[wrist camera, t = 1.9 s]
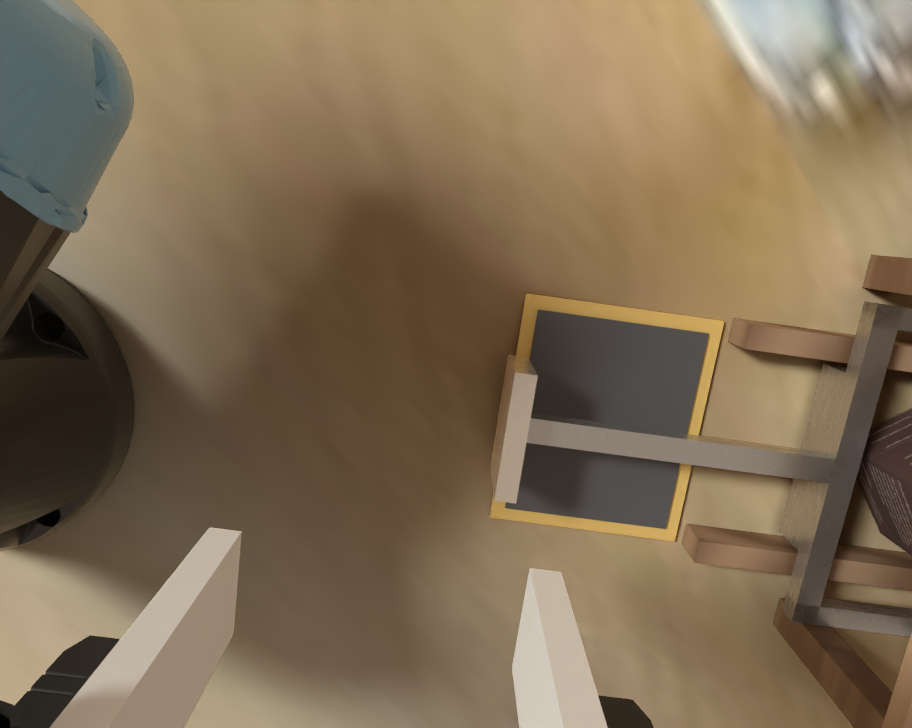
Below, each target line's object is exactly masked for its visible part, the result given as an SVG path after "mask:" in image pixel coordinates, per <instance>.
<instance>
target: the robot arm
mask: <svg viewBox="0 0 912 728" xmlns="http://www.w3.org/2000/svg"><path fill="white" fill-rule="evenodd" d="M133 103H134V97H133V86H132V81H131V77H130V74H129V71H128V68H127V66H126V64H125V62H124V60H123V58H122V56H121V55H120V53H119V51H118V49H117V48H116V46H115V45H114V44H113V42H112V41H111V40H110V39H109V37H108V36H107V35H106V34H105V33H104V31H103V30H102V29H101V28H100V27H99V26H98V25H97V24H96V23H95V22H94V21H93V20H92V19H91V18H90V17H89V16H88V15H87V14H86V13H85V12H84V11H83V10H82V9H81V8H80V7H79V6H78V5H77V4H76V3H74V2H73V1H72V0H0V551H2V550H6V549H10V548H14V547H17V546H21V545H24V544H27V543H30V542H32V541H35V540H37V539H39V538H41V537H43V536H45V535H47V534H49V533H51V532H53V531H55V530H57V529H58V528H60V527H61V526H63V525H64V524H66V523H67V522H68V521H69V520H71V519H72V518H73V517H75V516H76V515H77V514H79V513H80V512H81V511H82V510H84V509H85V508H86V507H88V506H89V505H90V504H91V503H93V502H94V501H95V500H96V499H97V498H98V497H99V496H100V495H101V494H102V493H103V492H104V491H105V489H106V488H107V487H108V486H109V484H110V483H111V482H112V480H113V479H114V477H115V476H116V474H117V472H118V470H119V469H120V467H121V465H122V463H123V460H124V458H125V456H126V453H127V450H128V447H129V443H130V439H131V434H132V428H133V417H134V404H133V393H132V387H131V381H130V377H129V373H128V370H127V366H126V363H125V360H124V358H123V355H122V353H121V351H120V348H119V346H118V344H117V342H116V340H115V338H114V337H113V335H112V333H111V331H110V330H109V328H108V327H107V325H106V324H105V322H104V321H103V320H102V318H101V317H100V316H99V314H98V313H97V312H96V311H95V309H94V308H93V307H92V306H91V305H90V304H89V303H88V302H87V301H86V300H85V299H84V298H83V297H82V296H81V295H80V294H79V293H78V292H77V291H76V290H75V289H74V288H72V287H71V286H70V285H69V284H67V283H66V282H65V281H63V280H62V279H61V278H59V277H58V276H56V275H55V274H53V273H52V272H50V271H48V270H47V268H48V266H49V265H50V263H51V262H52V260H53V259H54V257H55V256H56V254H57V253H58V251H59V249H60V248H61V246H62V245H63V243H64V242H65V240H66V239H67V237H68V236H69V234H70V233H71V232H73V233H76V232H78V231H79V230H80V228H81V227H82V226H83V224H84V222H85V220H86V218H87V216H88V212H87V207H86V205H87V203H88V201H89V199H90V197H91V195H92V193H93V191H94V190H95V188H96V186H97V184H98V182H99V180H100V178H101V176H102V174H103V172H104V171H105V169H106V167H107V165H108V163H109V161H110V159H111V157H112V155H113V153H114V152H115V150H116V148H117V146H118V144H119V142H120V141H121V139H122V137H123V135H124V134H125V132H126V130H127V128H128V126H129V123H130V120H131V116H132V111H133ZM241 535H242V531H235V530H227V529H220V528H212V527H209V528H208V530H207V531H206V532H205V533H204V535H203V536H202V537H201V538H200V540H199V541H198V542H197V543H196V545H195V546H194V547H193V548H192V550H191V551H190V552H189V553H188V555H187V556H186V557H185V559H184V560H183V561H182V562H181V564H180V565H179V566H178V567H177V569H176V570H175V571H174V572H173V574H172V575H171V576H170V577H169V579H168V580H167V581H166V582H165V584H164V585H163V586H162V587H161V589H160V590H159V591H158V592H157V594H156V595H155V596H154V597H153V599H152V600H151V601H150V602H149V604H148V605H147V606H146V607H145V609H144V610H143V611H142V612H141V614H140V615H139V616H138V617H137V619H136V620H135V621H134V622H133V624H132V625H131V626H130V627H129V629H128V630H127V631H126V632H125V634H124V635H123V636H122V637H121V639H115V638H106V637H98V636H89V637H87V638H85V639H84V640H82V641H80V642H79V643H77V644H75V645H73V646H72V647H70V648H68V649H67V650H65V651H64V652H63V653H62V654H61V655H60V656H59V657H58V658H57V659H56V660H55V662H54V663H53V664H52V665H51V666H50V667H49V668H48V669H47V670H46V673H45V675H42V676H41V677H40V678H39V679H38V680H37V681H36V683H35V684H34V685H33V686H32V687H31V690H30V692H29V691H27V693H26V694H25V695H24V696H23V697H22V698H21V699H20V700H19V701H18V702H17V704H16V705H15V706H13V705H12V704H9V703H6V702H3V701H0V728H184V726H185V725H186V723H187V721H188V719H189V717H190V715H191V713H192V711H193V710H194V708H195V706H196V704H197V702H198V700H199V698H200V696H201V695H202V693H203V691H204V689H205V687H206V685H207V683H208V681H209V680H210V678H211V676H212V674H213V672H214V670H215V668H216V666H217V665H218V663H219V661H220V659H221V657H222V655H223V653H224V652H225V650H226V648H227V646H228V644H229V642H230V640H231V638H232V637H233V635H234V625H235V612H236V599H237V586H238V574H239V561H240V548H241ZM512 674H513V682H514V690H515V698H516V705H517V713H518V721H519V728H653V725H652V723H651V720H650V719H649V718H648V717H647V716H646V715H645V713H644V712H643V711H642V710H641V709H640V708H639V707H638V705H637V704H636V703H635V702H634V701H633V700H630V699H622V698H614V697H606V696H598V694H597V690H596V687H595V684H594V680H593V677H592V674H591V670H590V667H589V664H588V660H587V657H586V654H585V650H584V647H583V644H582V640H581V637H580V634H579V630H578V627H577V624H576V620H575V617H574V613H573V610H572V607H571V603H570V600H569V597H568V593H567V590H566V587H565V583H564V580H563V577H562V573H561V572H557V571H550V570H542V569H534V568H530V569H529V574H528V580H527V586H526V591H525V597H524V603H523V608H522V614H521V619H520V625H519V631H518V636H517V642H516V648H515V653H514V659H513V665H512Z"/></svg>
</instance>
